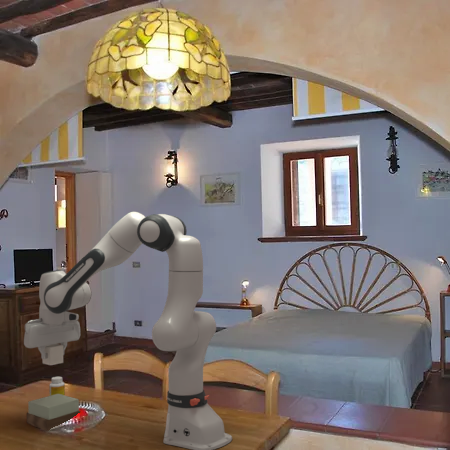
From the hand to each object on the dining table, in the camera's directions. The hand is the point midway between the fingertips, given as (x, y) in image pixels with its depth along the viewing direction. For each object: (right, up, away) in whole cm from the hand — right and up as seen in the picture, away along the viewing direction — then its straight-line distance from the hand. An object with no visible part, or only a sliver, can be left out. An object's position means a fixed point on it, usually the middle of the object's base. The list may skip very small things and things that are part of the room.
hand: (53, 357), depth 197 cm
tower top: (0, -19, 0) cm, 19 cm away
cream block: (0, -2, 0) cm, 2 cm away
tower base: (0, -23, 0) cm, 23 cm away
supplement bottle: (-4, -23, +20) cm, 31 cm away
